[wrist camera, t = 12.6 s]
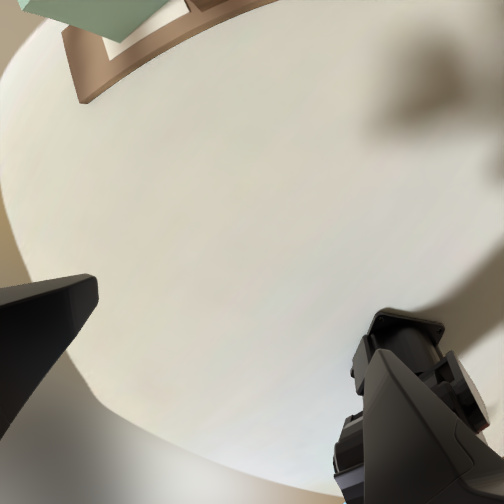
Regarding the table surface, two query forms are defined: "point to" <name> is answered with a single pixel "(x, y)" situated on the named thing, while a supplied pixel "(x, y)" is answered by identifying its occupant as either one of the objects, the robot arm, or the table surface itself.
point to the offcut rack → (142, 41)
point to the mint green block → (97, 14)
